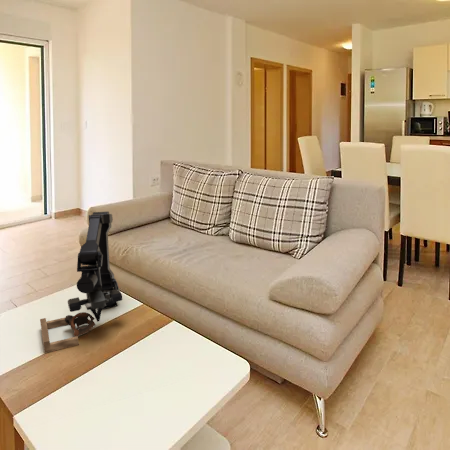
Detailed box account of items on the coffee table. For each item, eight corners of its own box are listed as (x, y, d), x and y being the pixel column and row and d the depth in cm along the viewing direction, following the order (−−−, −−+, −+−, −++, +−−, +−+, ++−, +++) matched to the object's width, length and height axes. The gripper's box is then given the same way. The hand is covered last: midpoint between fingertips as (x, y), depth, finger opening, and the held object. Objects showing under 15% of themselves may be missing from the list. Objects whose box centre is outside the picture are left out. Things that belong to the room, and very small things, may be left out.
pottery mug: (100, 325, 160) (99, 312, 155) (89, 346, 154) (87, 334, 148) (71, 317, 161) (68, 304, 156) (58, 337, 154) (55, 325, 149)
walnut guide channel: (72, 322, 163) (70, 312, 162) (78, 344, 146) (77, 334, 145) (41, 328, 158) (39, 319, 157) (44, 353, 142) (43, 342, 141)
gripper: (68, 295, 142) (75, 337, 146) (123, 284, 150) (128, 323, 154) (65, 284, 152) (70, 323, 156) (116, 274, 160) (120, 311, 164)
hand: (98, 320), depth 157 cm, fingers closed
